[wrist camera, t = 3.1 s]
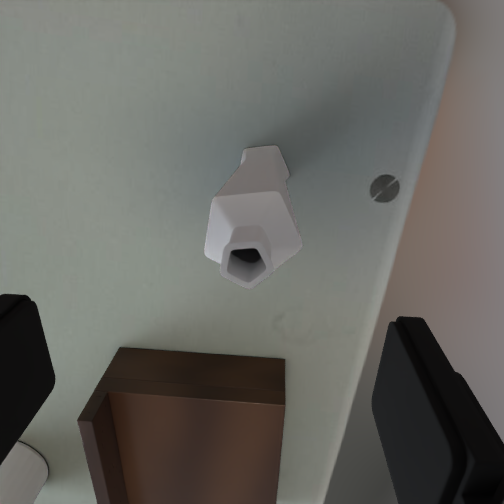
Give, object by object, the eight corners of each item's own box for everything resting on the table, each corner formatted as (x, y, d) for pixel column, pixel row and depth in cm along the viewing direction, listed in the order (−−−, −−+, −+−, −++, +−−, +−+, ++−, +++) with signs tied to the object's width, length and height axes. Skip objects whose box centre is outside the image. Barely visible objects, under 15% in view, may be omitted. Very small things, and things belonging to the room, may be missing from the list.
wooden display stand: (285, 358, 36) (285, 437, 28) (272, 500, 46) (270, 587, 38) (119, 346, 37) (76, 420, 29) (141, 488, 46) (113, 571, 39)
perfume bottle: (264, 123, 27) (246, 181, 13) (304, 169, 28) (325, 265, 15) (218, 166, 28) (161, 257, 15) (258, 208, 30) (239, 327, 16)
